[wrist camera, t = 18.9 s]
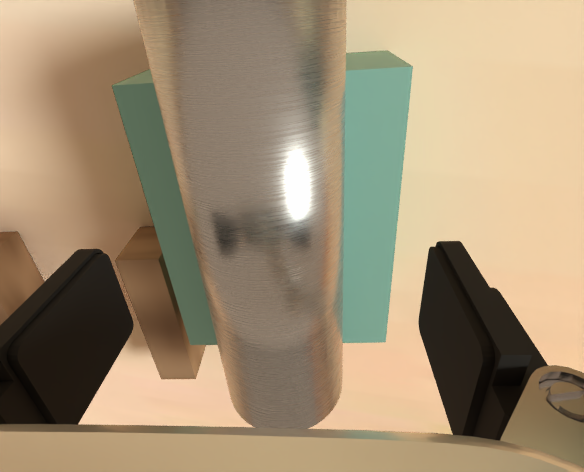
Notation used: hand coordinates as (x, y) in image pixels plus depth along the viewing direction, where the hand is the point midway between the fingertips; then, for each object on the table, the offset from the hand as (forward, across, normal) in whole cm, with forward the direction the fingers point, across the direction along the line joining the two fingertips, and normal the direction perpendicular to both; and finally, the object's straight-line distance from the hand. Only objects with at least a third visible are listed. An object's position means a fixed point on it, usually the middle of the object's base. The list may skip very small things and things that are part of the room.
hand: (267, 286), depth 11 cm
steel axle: (+4, 0, +1) cm, 5 cm away
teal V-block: (+11, +1, +2) cm, 11 cm away
